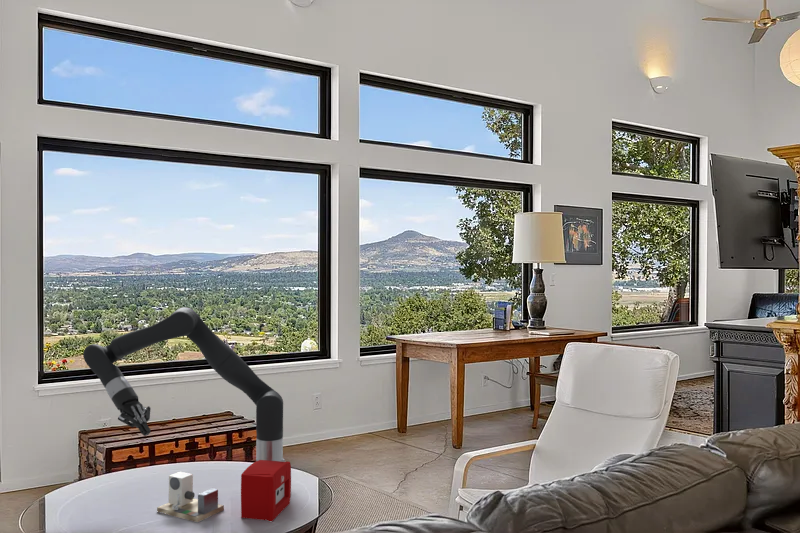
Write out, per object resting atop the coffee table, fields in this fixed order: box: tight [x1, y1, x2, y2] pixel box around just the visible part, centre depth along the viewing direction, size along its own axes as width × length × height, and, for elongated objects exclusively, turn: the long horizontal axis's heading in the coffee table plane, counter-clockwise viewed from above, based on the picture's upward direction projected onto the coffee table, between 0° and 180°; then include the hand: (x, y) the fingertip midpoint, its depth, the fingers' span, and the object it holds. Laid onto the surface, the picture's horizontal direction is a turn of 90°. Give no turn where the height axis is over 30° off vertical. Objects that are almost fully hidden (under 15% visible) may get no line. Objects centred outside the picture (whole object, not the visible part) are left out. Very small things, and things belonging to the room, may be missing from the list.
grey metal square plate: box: [197, 487, 219, 514], centre depth 236 cm, size 2×6×6 cm, turn 153°
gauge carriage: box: [168, 471, 195, 510], centre depth 239 cm, size 8×8×9 cm
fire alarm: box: [240, 460, 292, 522], centre depth 240 cm, size 16×11×15 cm
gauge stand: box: [156, 497, 225, 523], centre depth 240 cm, size 17×12×2 cm
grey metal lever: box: [175, 494, 182, 510], centre depth 236 cm, size 1×2×5 cm, turn 153°
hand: (147, 434), depth 248 cm, fingers closed
